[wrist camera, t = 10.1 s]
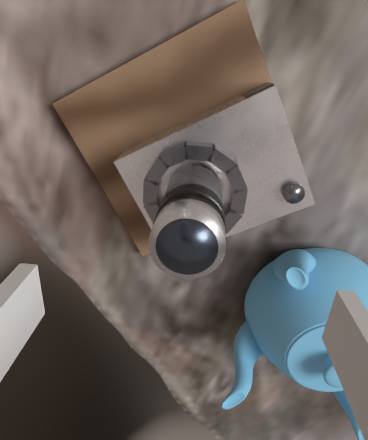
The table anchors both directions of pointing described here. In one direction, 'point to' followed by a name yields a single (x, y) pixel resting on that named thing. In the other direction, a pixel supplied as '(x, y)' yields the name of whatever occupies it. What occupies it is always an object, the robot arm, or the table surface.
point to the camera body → (226, 160)
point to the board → (161, 99)
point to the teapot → (296, 320)
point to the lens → (190, 225)
